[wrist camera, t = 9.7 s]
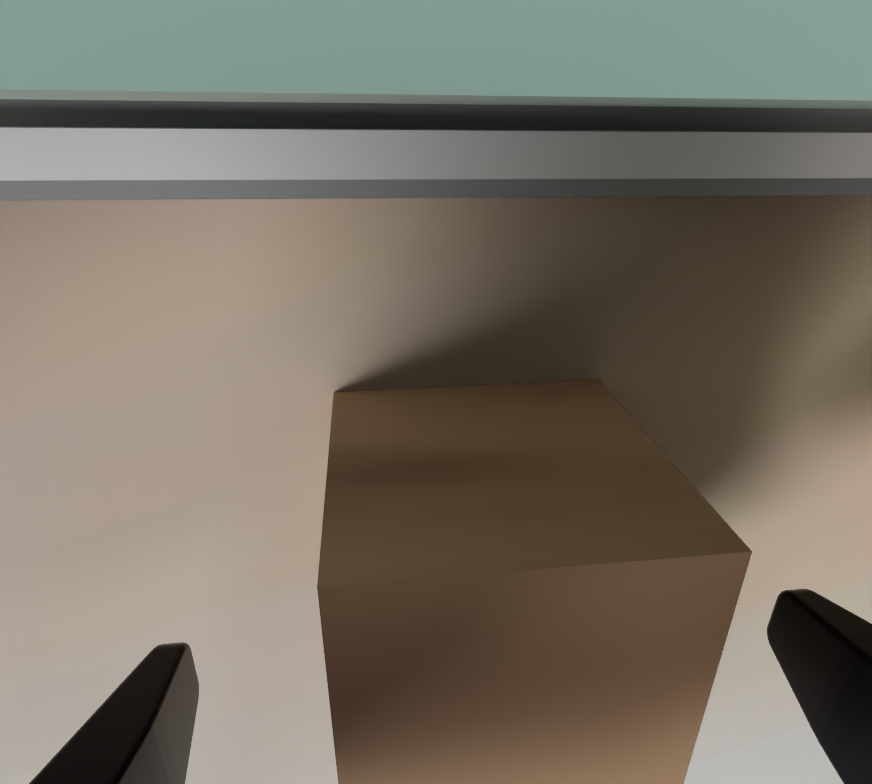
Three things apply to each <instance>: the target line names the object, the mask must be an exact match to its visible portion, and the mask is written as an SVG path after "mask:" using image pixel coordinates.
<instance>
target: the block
mask: <svg viewBox="0 0 872 784" xmlns="http://www.w3.org/2000/svg"><path fill="white" fill-rule="evenodd" d="M751 553H752V551H751V550H750V549H749V548H748V547H747V546H746V544H745V543H744V542H743V541H742V540H741V539H740V538H739V537H738V535H737V534H736V533H735V532H734V531H733V530H732V529H731V528H730V526H729V525H728V524H727V523H726V522H725V521H724V520H723V519H722V517H721V516H720V515H719V514H718V513H717V512H716V511H715V510H714V509H713V507H712V506H711V505H710V504H709V503H708V502H707V501H706V500H705V498H704V497H703V496H702V495H701V494H700V493H699V492H698V491H697V489H696V488H695V487H694V486H693V485H692V484H691V483H690V482H689V480H688V479H687V478H686V477H685V476H684V475H683V474H682V473H681V472H680V470H679V469H678V468H677V467H676V466H675V465H674V464H673V463H672V461H671V460H670V459H669V458H668V457H667V456H666V455H665V454H664V452H663V451H662V450H661V449H660V448H659V447H658V446H657V445H656V443H655V442H654V441H653V440H652V439H651V438H650V437H649V436H648V435H647V433H646V432H645V431H644V430H643V429H642V428H641V427H640V426H639V424H638V423H637V422H636V421H635V420H634V419H633V418H632V417H631V415H630V414H629V413H628V412H627V411H626V410H625V409H624V408H623V406H622V405H621V404H620V403H619V402H618V401H617V400H616V399H615V398H614V396H613V395H612V394H611V393H610V392H609V391H608V390H607V389H606V387H605V386H604V385H603V384H602V383H601V382H600V381H599V380H579V381H558V382H537V383H516V384H495V385H474V386H452V387H431V388H410V389H389V390H368V391H347V392H334V396H333V408H332V420H331V432H330V443H329V455H328V467H327V479H326V491H325V503H324V514H323V526H322V538H321V550H320V562H319V574H318V585H317V589H318V598H319V607H320V616H321V626H322V635H323V644H324V654H325V663H326V672H327V681H328V691H329V700H330V709H331V718H332V728H333V737H334V746H335V755H336V765H337V774H338V783H339V784H683V783H684V780H685V776H686V773H687V769H688V766H689V763H690V759H691V756H692V753H693V749H694V746H695V742H696V739H697V736H698V732H699V729H700V725H701V722H702V719H703V715H704V712H705V709H706V705H707V702H708V698H709V695H710V692H711V688H712V685H713V682H714V678H715V675H716V671H717V668H718V665H719V661H720V658H721V655H722V651H723V648H724V644H725V641H726V638H727V634H728V631H729V627H730V624H731V621H732V617H733V614H734V611H735V607H736V604H737V600H738V597H739V594H740V590H741V587H742V584H743V580H744V577H745V573H746V570H747V567H748V563H749V560H750V557H751Z"/></svg>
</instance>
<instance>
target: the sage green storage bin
mask: <svg viewBox="0 0 872 784" xmlns="http://www.w3.org/2000/svg"><path fill="white" fill-rule="evenodd" d="M0 99H39V100H127V101H215V102H302V103H390V104H477V105H565V106H653V107H740V108H828V109H872V0H0Z"/></svg>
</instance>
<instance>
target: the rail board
mask: <svg viewBox="0 0 872 784" xmlns="http://www.w3.org/2000/svg"><path fill="white" fill-rule="evenodd" d="M777 195H872V109H828V108H740V107H653V106H565V105H477V104H390V103H302V102H215V101H127V100H39V99H0V200H148V199H305V198H463V197H620V196H777Z"/></svg>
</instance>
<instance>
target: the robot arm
mask: <svg viewBox="0 0 872 784" xmlns="http://www.w3.org/2000/svg"><path fill="white" fill-rule="evenodd" d="M767 635H768V640H769V643H770V646H771V648H772V650H773V652H774V654H775V656H776V658H777V660H778V662H779V664H780V666H781V668H782V670H783V672H784V674H785V676H786V678H787V680H788V682H789V684H790V686H791V688H792V690H793V692H794V694H795V696H796V698H797V700H798V702H799V704H800V706H801V708H802V710H803V712H804V714H805V716H806V718H807V720H808V722H809V724H810V726H811V728H812V730H813V732H814V734H815V735H816V737H817V739H818V741H819V743H820V745H821V746H822V748H823V750H824V751H825V753H826V755H827V757H828V758H829V760H830V762H831V763H832V765H833V766H834V768H835V770H836V771H837V773H838V775H839V776H840V778H841V780H842V781H843V783H844V784H872V624H871V623H869V622H867V621H866V620H864V619H862V618H860V617H858V616H857V615H855V614H853V613H851V612H849V611H848V610H846V609H844V608H842V607H840V606H839V605H837V604H835V603H833V602H831V601H830V600H828V599H826V598H824V597H822V596H821V595H819V594H817V593H815V592H813V591H811V590H808V589H797V590H785V591H782V592H781V593H780V594H779V596H778V598H777V600H776V603H775V606H774V609H773V612H772V615H771V618H770V621H769V624H768V627H767ZM198 696H199V683H198V678H197V674H196V669H195V665H194V661H193V657H192V652H191V649H190V647H189V645H188V644H187V643H171V644H161V645H158V646H157V647H155V648H154V649H153V650H152V651H151V652H150V653H149V654H148V655H147V656H146V657H145V658H144V659H143V661H142V662H141V663H140V664H139V665H138V666H137V667H136V668H135V669H134V670H133V671H132V672H131V674H130V675H129V676H128V677H127V678H126V679H125V680H124V681H123V682H122V683H121V684H120V686H119V687H118V688H117V689H116V690H115V691H114V692H113V693H112V694H111V695H110V696H109V697H108V699H107V700H106V701H105V702H104V703H103V704H102V705H101V706H100V707H99V708H98V709H97V711H96V712H95V713H94V714H93V715H92V716H91V717H90V718H89V719H88V720H87V721H86V723H85V724H84V725H83V726H82V727H81V728H80V729H79V730H78V731H77V732H76V733H75V734H74V736H73V737H72V738H71V739H70V740H69V741H68V742H67V743H66V744H65V745H64V746H63V748H62V749H61V750H60V751H59V752H58V753H57V754H56V755H55V756H54V757H53V758H52V759H51V761H50V762H49V763H48V764H47V765H46V766H45V767H44V768H43V769H42V770H41V771H40V773H39V774H38V775H37V776H36V777H35V778H34V779H33V780H32V781H31V782H30V783H29V784H185V779H186V773H187V766H188V760H189V754H190V748H191V741H192V735H193V729H194V723H195V716H196V710H197V704H198Z"/></svg>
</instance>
